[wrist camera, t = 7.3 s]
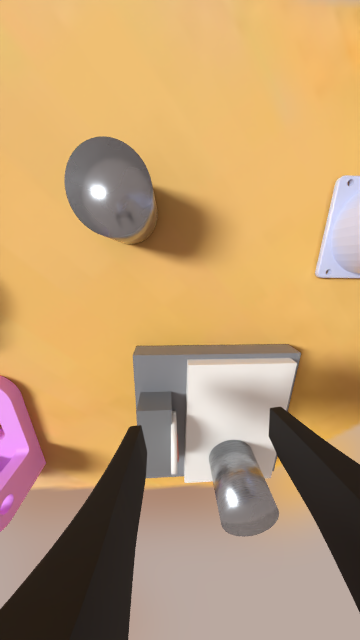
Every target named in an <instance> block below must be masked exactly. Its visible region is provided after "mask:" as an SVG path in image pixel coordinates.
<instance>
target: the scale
mask: <svg viewBox="0 0 360 640" xmlns="http://www.w3.org/2000/svg"><path fill="white" fill-rule="evenodd" d="M300 356H301V353H300V352H299V351H297V350H296V349H294V348H293V347H292V346H290V345H289V344H268V345H183V346H136V349H135V351H134V354H133V366H134V381H135V395H136V414H137V426H138V425H141V426H142V430H143V435H144V439H145V444H146V448H147V468H146V478H159V477H177V476H184V481H185V483H191V482H209V481H213V479H212V474H211V469H210V464H209V454H210V452H211V450H212V449H213V448H214V447H215V446H216V445H218V444H219V443H221V442H224V441H227V440H240V441H243V442H245V443H247V444H248V445H249V446H250V447H251V449H252V451H253V453H254V456H255V458H256V460H257V462H258V465H259V467H260V469H261V472H262V474H263V476H264V478H271V475H272V471H274V467H275V463H276V459H277V453H276V451H275V449H274V447H273V445H272V442H271V440H270V438H269V416H270V408H273V407H282V408H283V409H285V410H286V411H287V412H288V407H289V403H290V399H291V395H292V390H293V386H294V382H295V377H296V373H297V369H298V365H299V360H300Z"/></svg>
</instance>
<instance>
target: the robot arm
mask: <svg viewBox="0 0 360 640" xmlns="http://www.w3.org/2000/svg"><path fill="white" fill-rule="evenodd" d="M348 182H349V186H348V185H347V183H348ZM327 270H328V273H327V274H326V271H327ZM315 275H316V276H317V277H320V278H360V176H348V175H346V176H342V177H340V178H339V179H338V180H337V181H336V183H335V187H334V191H333V196H332V200H331V205H330V209H329V214H328V218H327V222H326V227H325V231H324V236H323V240H322V245H321V249H320V253H319V258H318V262H317V267H316V271H315ZM269 438H270V440H271V442H272V445H273V447H274V449H275V451H276V453H277V455H278V457H279V459H280V461H281V463H282V464H283V466H284V468H285V470H286V471H287V473H288V474H289V476H290V478H291V480H292V481H293V483H294V485H295V487H296V488H297V490H298V492H299V493H300V495H301V497H302V499H303V500H304V502H305V504H306V505H307V507H308V509H309V510H310V512H311V514H312V516H313V518H314V520H315V521H316V523H317V525H318V527H319V529H320V531H321V533H322V535H323V537H324V539H325V541H326V543H327V545H328V547H329V549H330V551H331V553H332V555H333V557H334V559H335V561H336V563H337V566H338V568H339V570H340V572H341V574H342V576H343V578H344V580H345V582H346V584H347V586H348V588H349V590H350V593H351V595H352V597H353V599H354V601H355V603H356V606H357V608H358V610H359V612H360V464H358V463H357V462H355V461H354V460H352V459H351V458H349V457H348V456H346V455H345V454H343V453H342V452H341V451H339V450H338V449H336V448H335V447H333V446H332V445H331V444H329V443H328V442H326V441H325V440H324V439H322V438H321V437H320V436H318V435H317V434H316V433H314V432H313V431H312V430H310V429H309V428H308V427H306V426H305V425H304V424H302V423H301V422H300V421H299V420H297V419H296V418H295V417H293V416H292V415H291V414H290V413H288V412H287V411H286V410H285V409H283V408H282V407H273V408H270V416H269ZM146 468H147V448H146V444H145V439H144V435H143V430H142V426H141V425H138V426H131V427H129V429H128V431H127V433H126V435H125V437H124V438H123V440H122V442H121V444H120V446H119V448H118V450H117V451H116V453H115V455H114V457H113V458H112V460H111V462H110V464H109V465H108V467H107V469H106V470H105V472H104V474H103V475H102V477H101V478H100V480H99V482H98V483H97V485H96V486H95V488H94V489H93V491H92V493H91V494H90V496H89V497H88V499H87V500H86V502H85V503H84V505H83V506H82V507H81V509H80V510H79V512H78V513H77V514H76V516H75V517H74V519H73V520H72V521H71V523H70V524H69V525H68V527H67V528H66V530H65V531H64V532H63V533H62V535H61V536H60V537H59V539H58V540H57V541H56V543H55V544H54V545H53V547H52V548H51V549H50V550H49V552H48V553H47V554H46V555H45V557H44V558H43V559H42V560H41V562H40V563H39V564H38V565H37V566H36V568H35V569H34V570H33V571H32V572H31V574H30V575H29V576H28V577H27V578H26V580H25V581H24V582H23V583H22V584H21V586H20V587H19V588H18V589H17V590H16V592H15V593H14V594H13V595H12V596H11V598H10V599H9V600H8V601H7V602H6V603H5V604H4V606H3V607H2V608H1V609H0V640H128V633H129V619H130V606H131V593H132V581H133V568H134V557H135V547H136V539H137V532H138V525H139V518H140V512H141V505H142V499H143V492H144V486H145V479H146Z"/></svg>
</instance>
